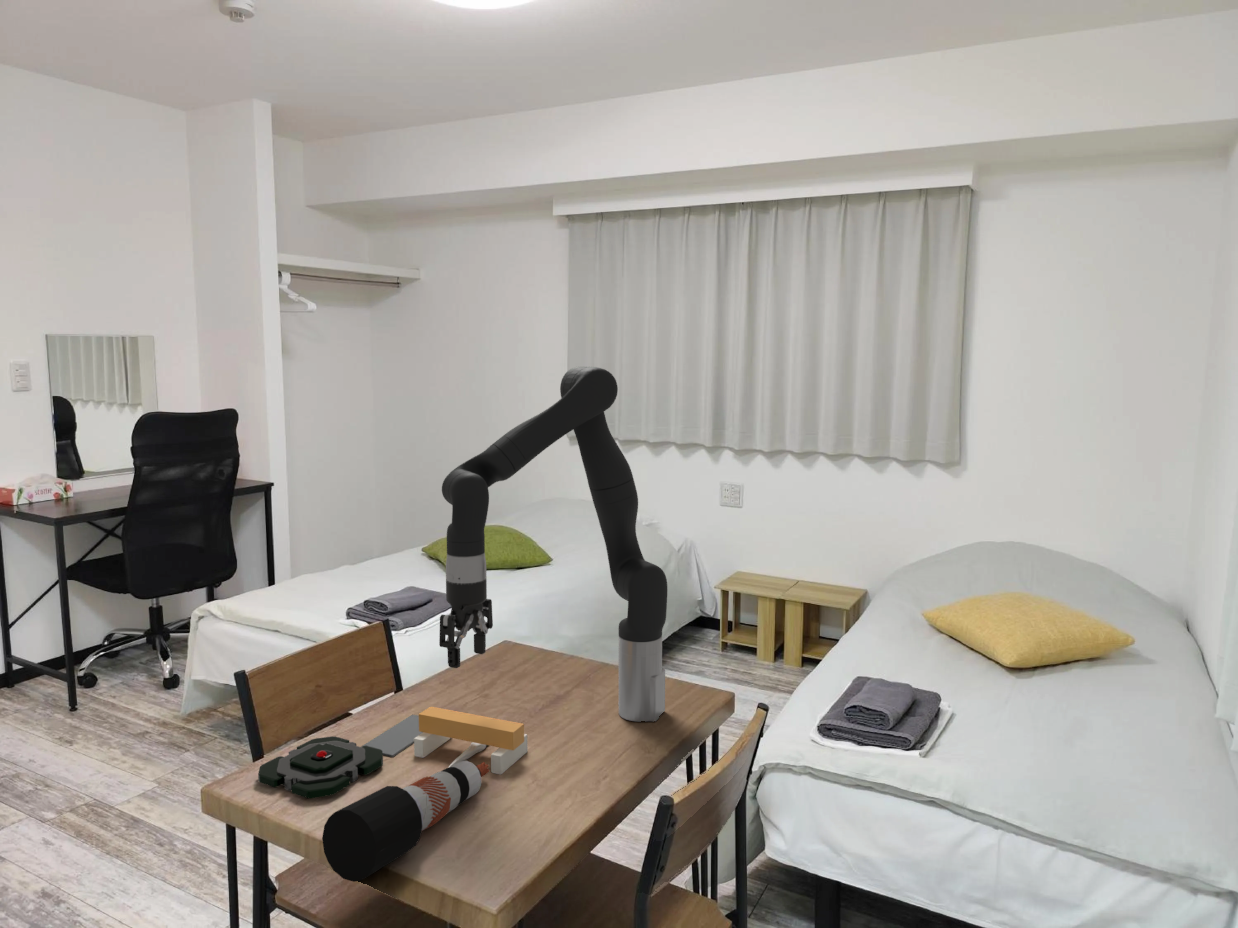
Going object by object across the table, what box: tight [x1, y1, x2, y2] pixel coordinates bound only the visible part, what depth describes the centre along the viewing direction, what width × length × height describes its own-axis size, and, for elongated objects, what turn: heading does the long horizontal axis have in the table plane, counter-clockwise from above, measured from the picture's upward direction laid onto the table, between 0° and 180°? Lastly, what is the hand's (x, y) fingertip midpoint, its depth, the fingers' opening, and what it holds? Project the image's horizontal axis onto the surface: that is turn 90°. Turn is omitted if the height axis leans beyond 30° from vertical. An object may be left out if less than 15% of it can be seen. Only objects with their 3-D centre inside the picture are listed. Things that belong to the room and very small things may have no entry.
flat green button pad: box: [257, 735, 384, 799], centre depth 156 cm, size 18×18×5 cm
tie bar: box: [418, 706, 525, 750], centre depth 163 cm, size 21×4×4 cm, turn 67°
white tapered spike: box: [447, 742, 488, 768], centre depth 163 cm, size 15×3×2 cm, turn 155°
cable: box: [321, 760, 490, 883], centre depth 138 cm, size 10×34×10 cm, turn 152°
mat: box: [360, 713, 423, 758], centre depth 172 cm, size 8×17×1 cm, turn 157°
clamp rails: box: [413, 732, 529, 775], centre depth 163 cm, size 19×10×4 cm, turn 67°
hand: (467, 659), depth 162 cm, fingers open, 8 cm apart
